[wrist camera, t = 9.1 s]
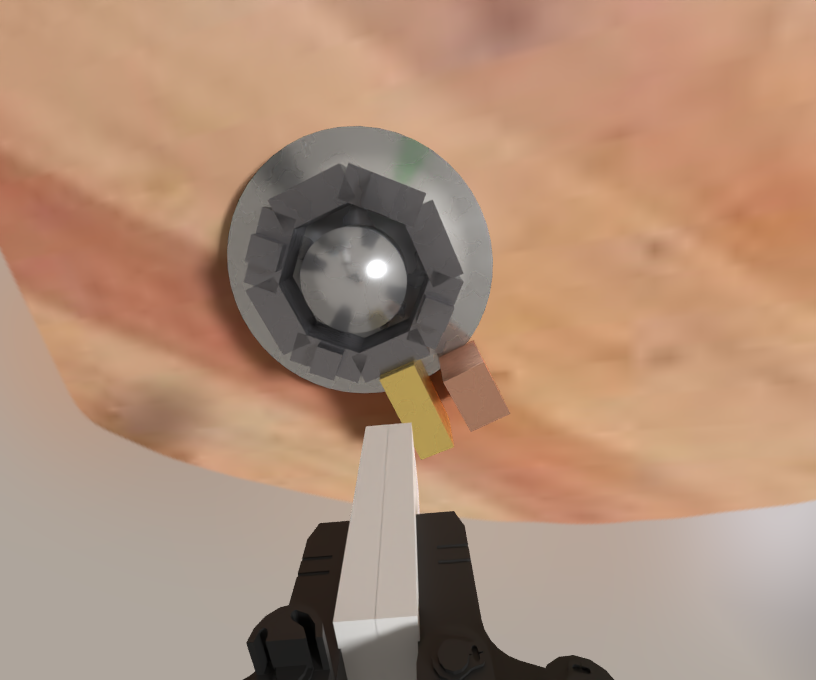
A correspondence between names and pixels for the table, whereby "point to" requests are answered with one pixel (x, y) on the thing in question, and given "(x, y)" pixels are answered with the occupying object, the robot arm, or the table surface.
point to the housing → (376, 259)
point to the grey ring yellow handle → (342, 351)
